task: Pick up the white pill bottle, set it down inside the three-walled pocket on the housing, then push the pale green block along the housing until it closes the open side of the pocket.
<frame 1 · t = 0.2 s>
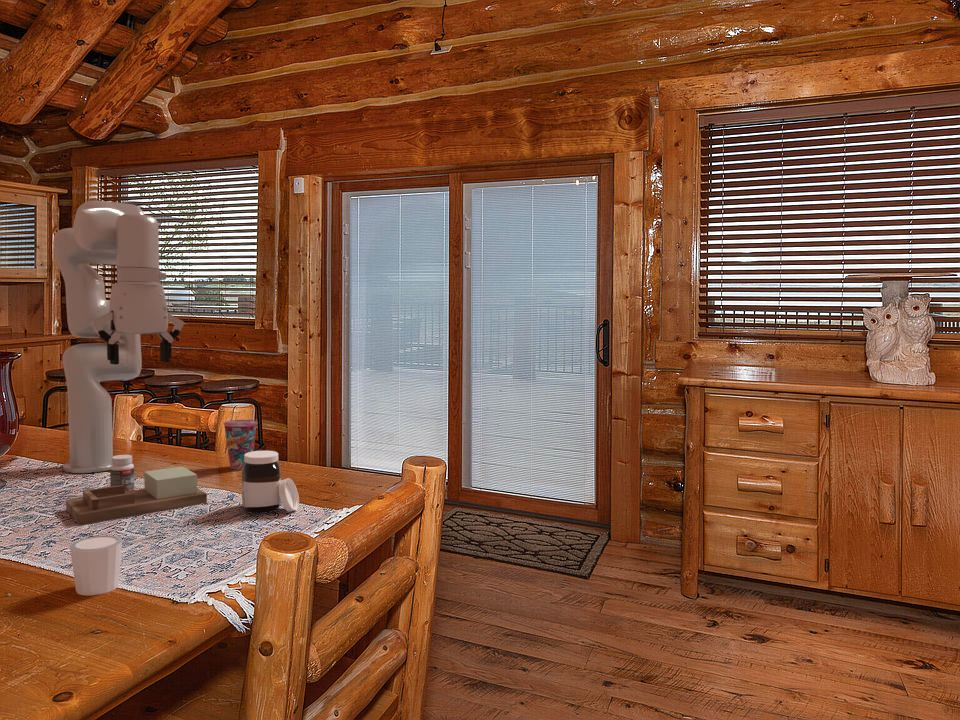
hand: (140, 362, 137), 30 cm above the table, tool pointing down, fingers open, 9 cm apart
white tapered cylinder: (97, 588, 102), on the table
housing: (138, 506, 142), on the table
cup: (242, 468, 176), on the table
pill bottle: (122, 494, 151), on the table
spread jar: (270, 509, 142), on the table
pale green block: (170, 482, 146), point 4 cm above the table, slide at 0.0 cm
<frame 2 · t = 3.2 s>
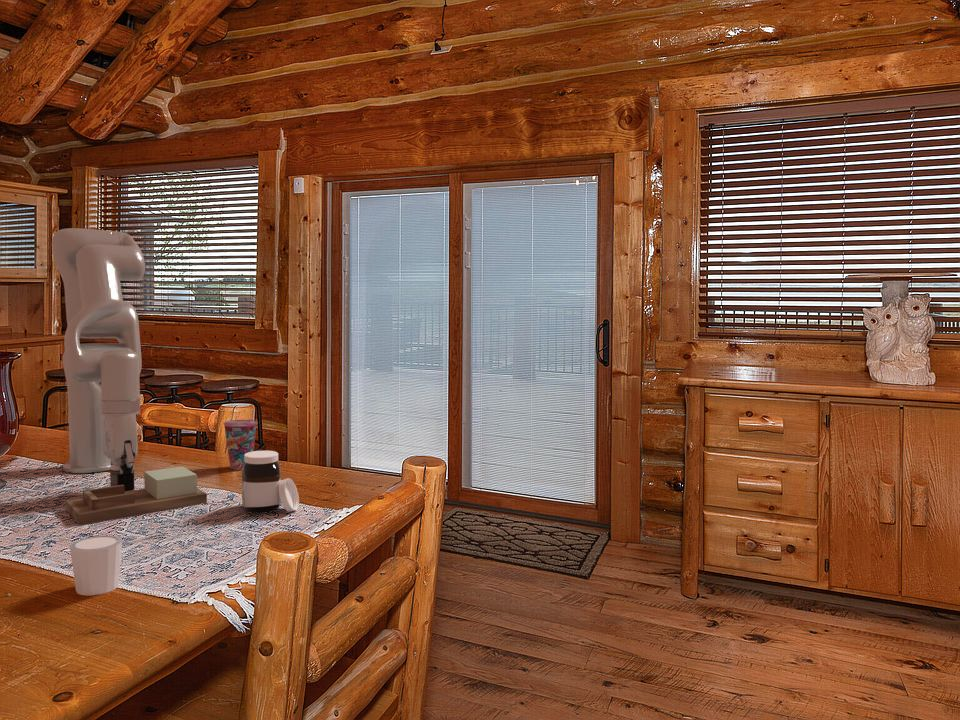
hand: (122, 487, 151), 1 cm above the table, tool pointing down, fingers closed on pill bottle, 4 cm apart
pill bottle: (122, 494, 151), on the table, touching gripper
everything else where it was.
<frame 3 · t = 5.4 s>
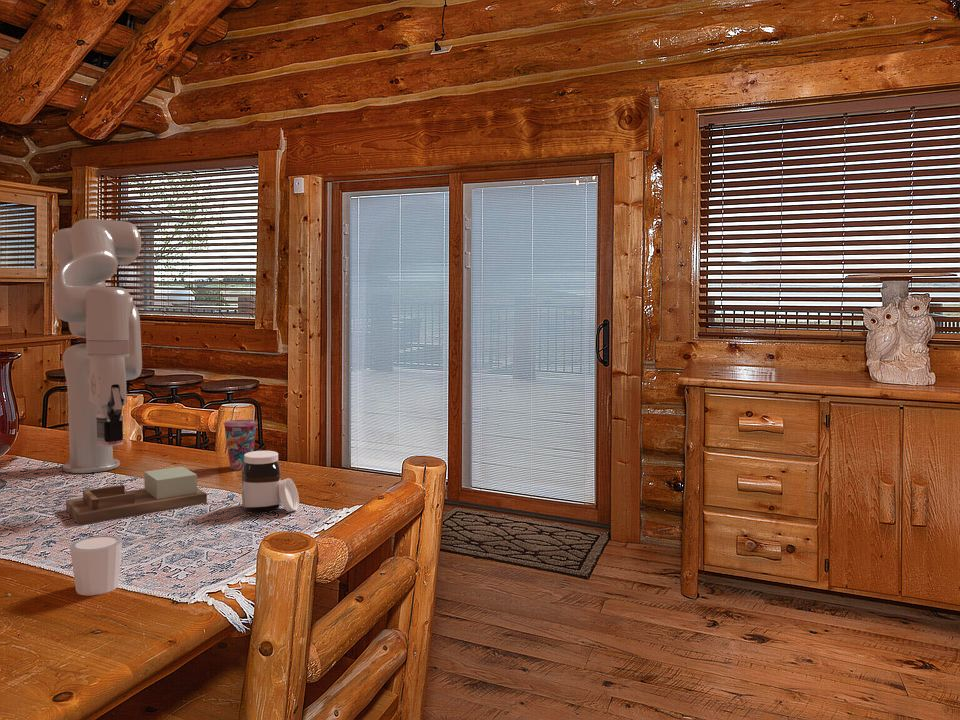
hand: (110, 437, 137), 15 cm above the table, tool pointing down, fingers closed on pill bottle, 4 cm apart
pill bottle: (110, 445, 137), point 14 cm above the table, touching gripper
everything else where it was.
when the fingers open (5 cm above the table, at t = 7.6 s): pill bottle drops 1 cm, resting on housing.
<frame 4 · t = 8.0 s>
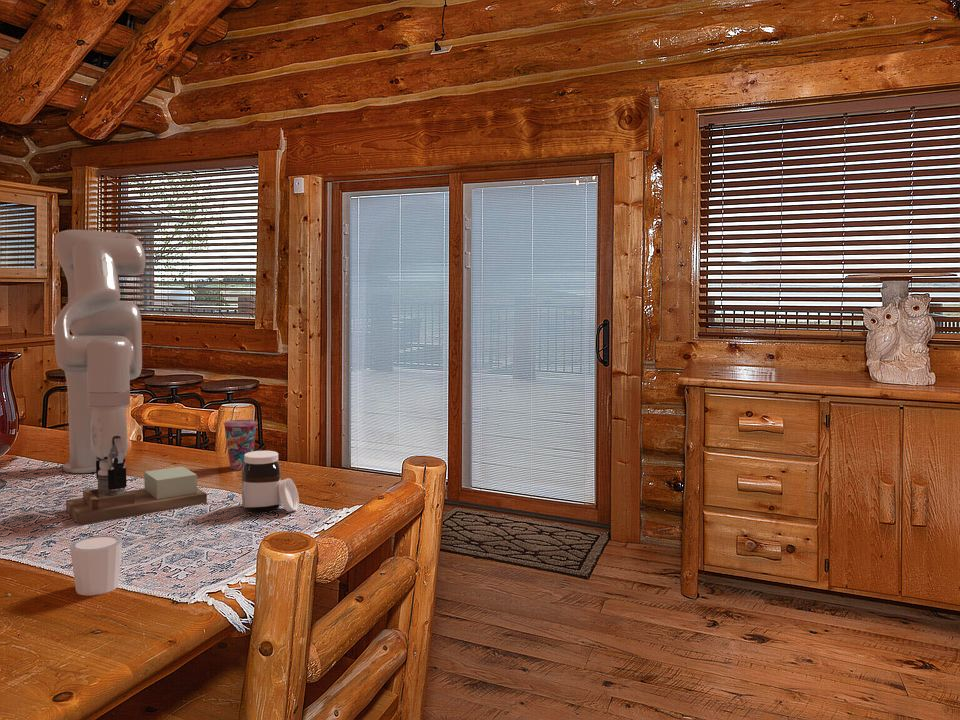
hand: (111, 483, 138), 6 cm above the table, tool pointing down, fingers open, 9 cm apart
pill bottle: (111, 501, 139), point 2 cm above the table, touching housing
everything else where it was.
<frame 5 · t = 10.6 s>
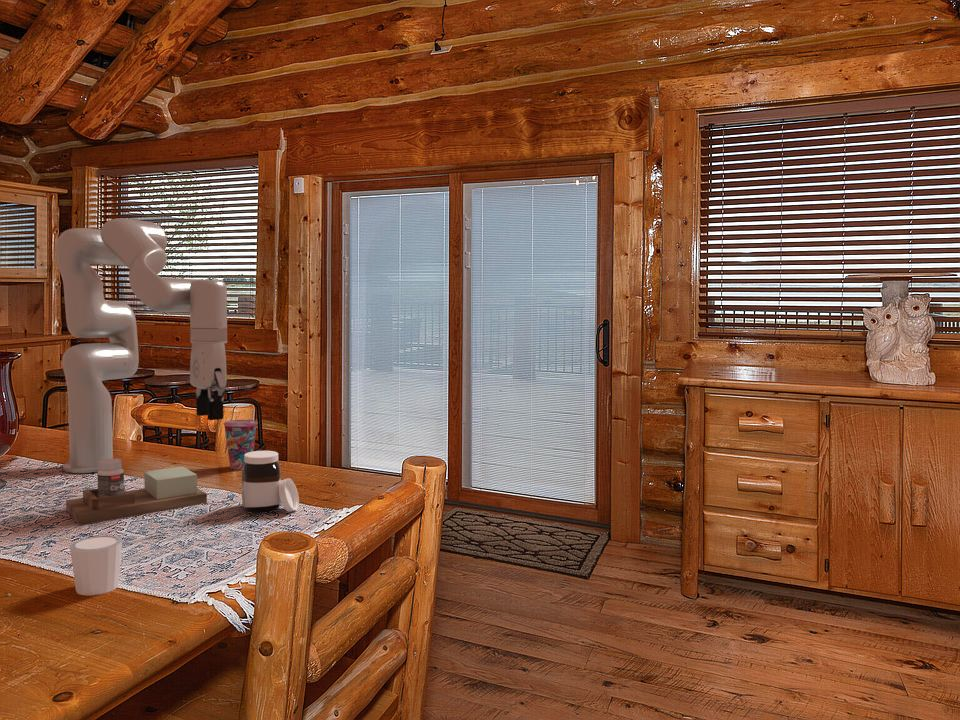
hand: (209, 416, 150), 18 cm above the table, tool pointing down, fingers open, 6 cm apart
nothing on the table moved.
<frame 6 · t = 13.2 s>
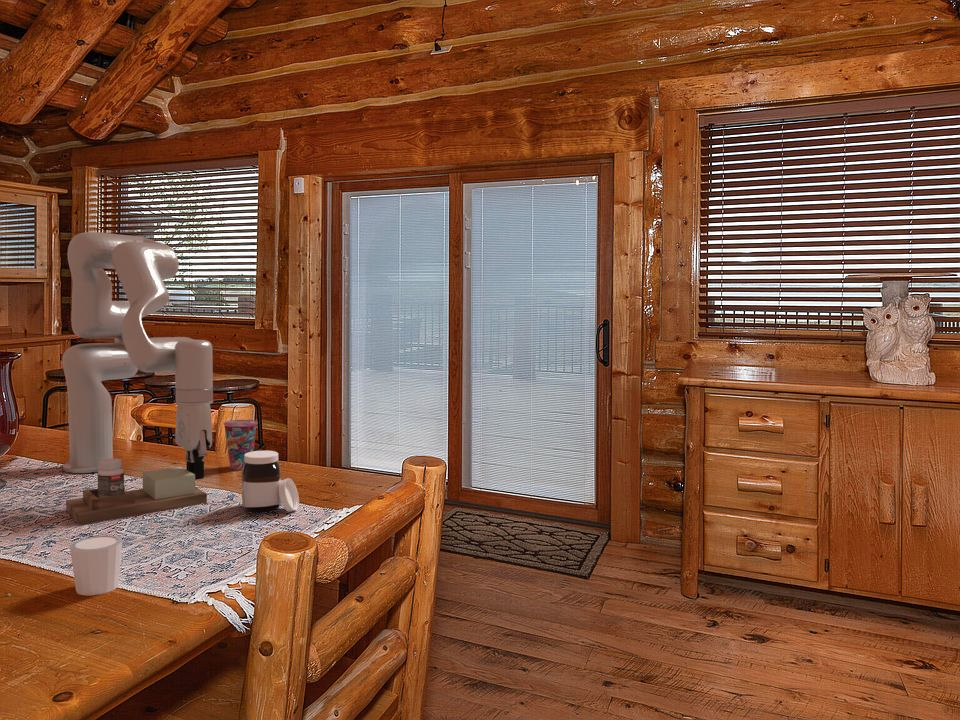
hand: (195, 478, 149), 4 cm above the table, tool pointing down, fingers closed
pale green block: (168, 482, 145), point 4 cm above the table, slide at 0.4 cm, touching gripper
everything else where it was.
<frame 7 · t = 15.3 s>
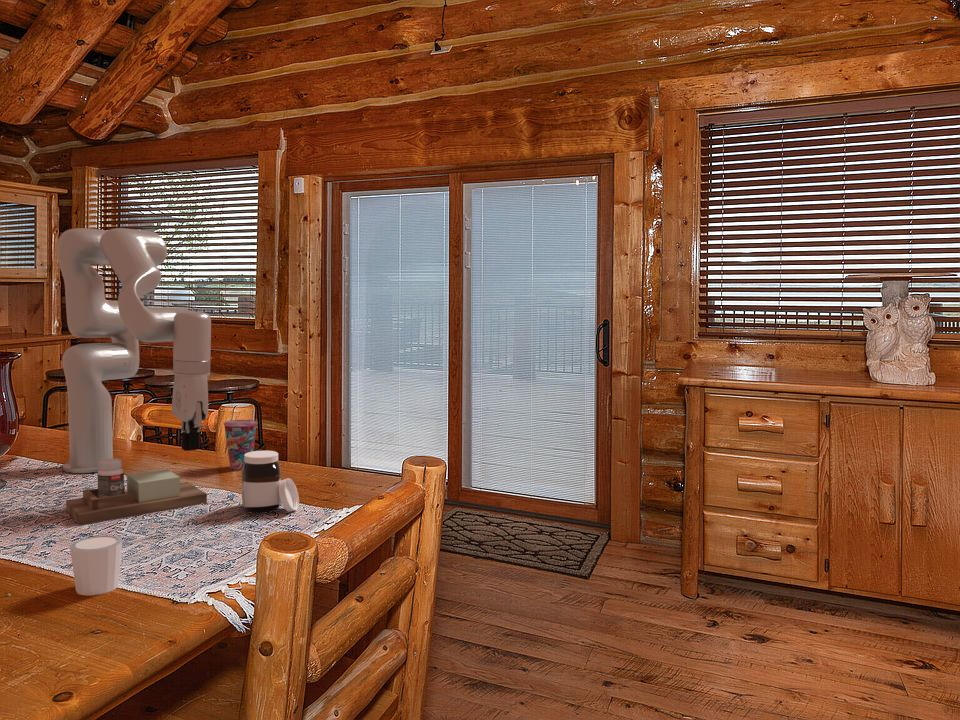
hand: (190, 449, 151), 10 cm above the table, tool pointing down, fingers closed
pale green block: (153, 484, 143), point 4 cm above the table, slide at 3.5 cm
everything else where it was.
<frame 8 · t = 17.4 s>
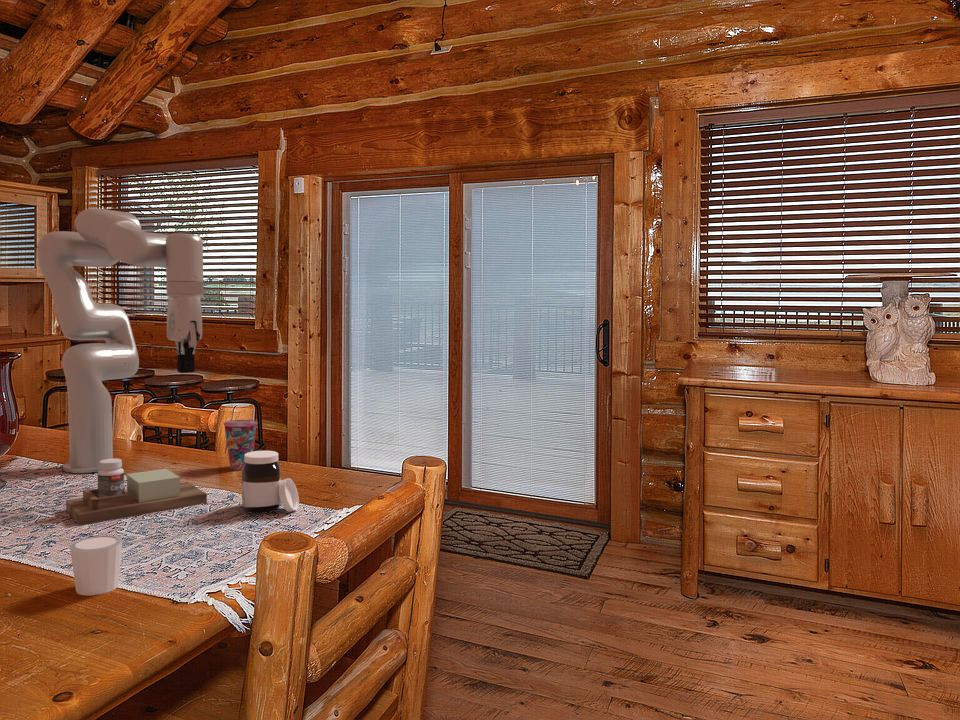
hand: (186, 372, 152), 27 cm above the table, tool pointing down, fingers closed
nothing on the table moved.
at the end: pill bottle 0.3 cm from the target spot on the housing, point 1.8 cm above the housing's base; pill bottle tilted 0°; pale green block slide at 3.5 cm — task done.
